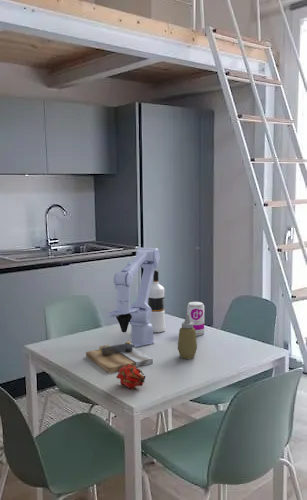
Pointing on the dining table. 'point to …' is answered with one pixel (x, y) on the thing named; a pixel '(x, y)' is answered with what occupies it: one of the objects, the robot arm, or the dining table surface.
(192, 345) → the squeeze bottle
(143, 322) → the robot arm
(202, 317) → the supplement can
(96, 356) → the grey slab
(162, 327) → the vodka
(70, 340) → the dining table surface
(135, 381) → the dragon fruit
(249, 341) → the dining table surface
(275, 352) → the dining table surface
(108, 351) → the lock bar
